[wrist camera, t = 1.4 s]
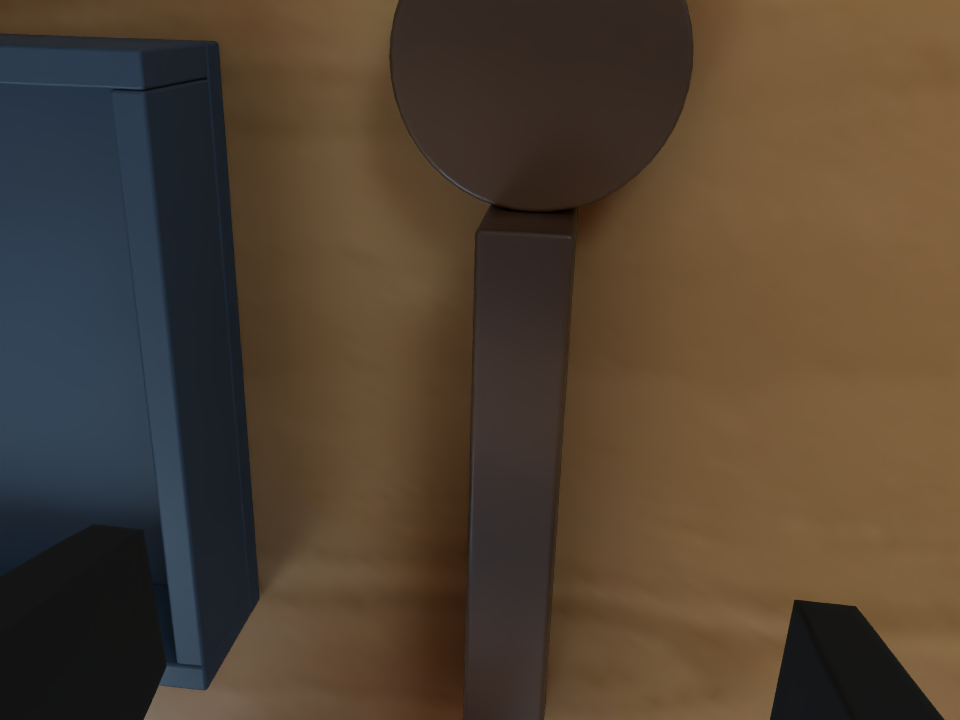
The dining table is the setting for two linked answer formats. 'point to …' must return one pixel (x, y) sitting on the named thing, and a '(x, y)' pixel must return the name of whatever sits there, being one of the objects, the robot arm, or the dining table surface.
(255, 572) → the tray
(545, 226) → the wooden spoon
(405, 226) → the dining table surface
